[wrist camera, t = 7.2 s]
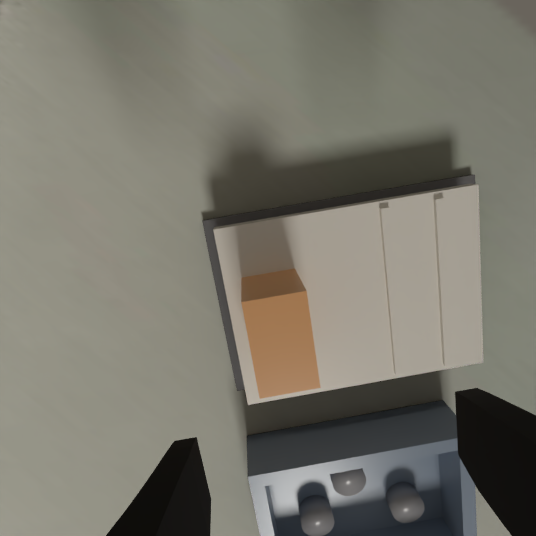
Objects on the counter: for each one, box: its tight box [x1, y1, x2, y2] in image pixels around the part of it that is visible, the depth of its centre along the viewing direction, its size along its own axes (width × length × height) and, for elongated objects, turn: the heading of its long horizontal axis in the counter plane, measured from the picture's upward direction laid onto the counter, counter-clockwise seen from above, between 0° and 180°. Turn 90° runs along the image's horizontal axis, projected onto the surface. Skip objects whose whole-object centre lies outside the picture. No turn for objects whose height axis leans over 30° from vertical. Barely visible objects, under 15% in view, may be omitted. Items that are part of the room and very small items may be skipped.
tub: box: [247, 400, 477, 536], centre depth 22 cm, size 11×8×3 cm
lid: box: [213, 184, 483, 405], centre depth 18 cm, size 12×9×5 cm
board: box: [203, 175, 475, 391], centre depth 20 cm, size 13×9×1 cm
